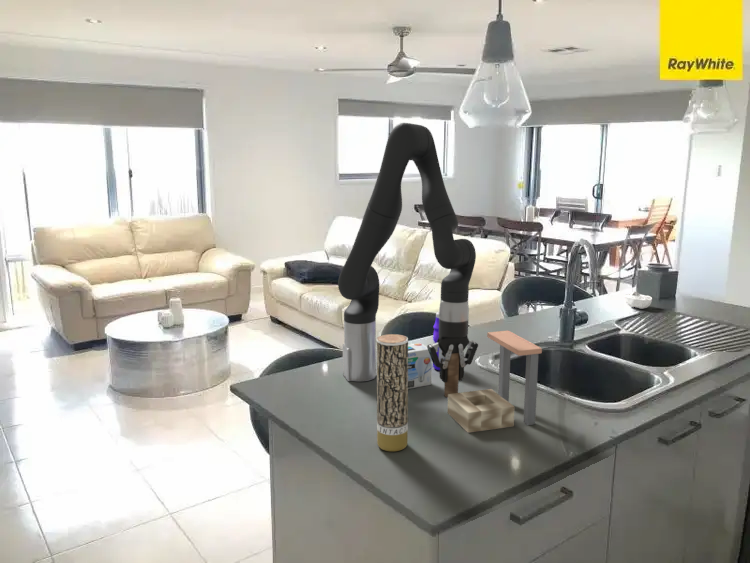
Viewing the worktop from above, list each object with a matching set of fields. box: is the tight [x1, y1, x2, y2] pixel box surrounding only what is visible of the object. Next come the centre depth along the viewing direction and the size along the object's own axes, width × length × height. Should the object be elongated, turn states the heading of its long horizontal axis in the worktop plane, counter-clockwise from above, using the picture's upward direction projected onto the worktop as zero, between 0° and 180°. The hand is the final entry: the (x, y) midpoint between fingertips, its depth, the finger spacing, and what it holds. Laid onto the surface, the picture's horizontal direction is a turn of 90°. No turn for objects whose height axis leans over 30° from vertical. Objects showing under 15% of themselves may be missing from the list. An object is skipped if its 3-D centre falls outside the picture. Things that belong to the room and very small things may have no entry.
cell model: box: [624, 291, 653, 310], centre depth 261 cm, size 10×12×7 cm
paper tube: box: [376, 333, 409, 453], centre depth 135 cm, size 7×7×25 cm
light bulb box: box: [408, 342, 433, 390], centre depth 174 cm, size 11×7×11 cm, turn 117°
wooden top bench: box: [486, 330, 543, 426], centre depth 153 cm, size 6×16×19 cm, turn 17°
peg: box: [443, 353, 460, 399], centre depth 161 cm, size 4×4×12 cm
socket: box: [447, 388, 515, 433], centre depth 151 cm, size 12×12×5 cm
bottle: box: [432, 311, 442, 371], centre depth 187 cm, size 7×6×17 cm
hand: (451, 380), depth 161 cm, fingers closed on peg, 3 cm apart
